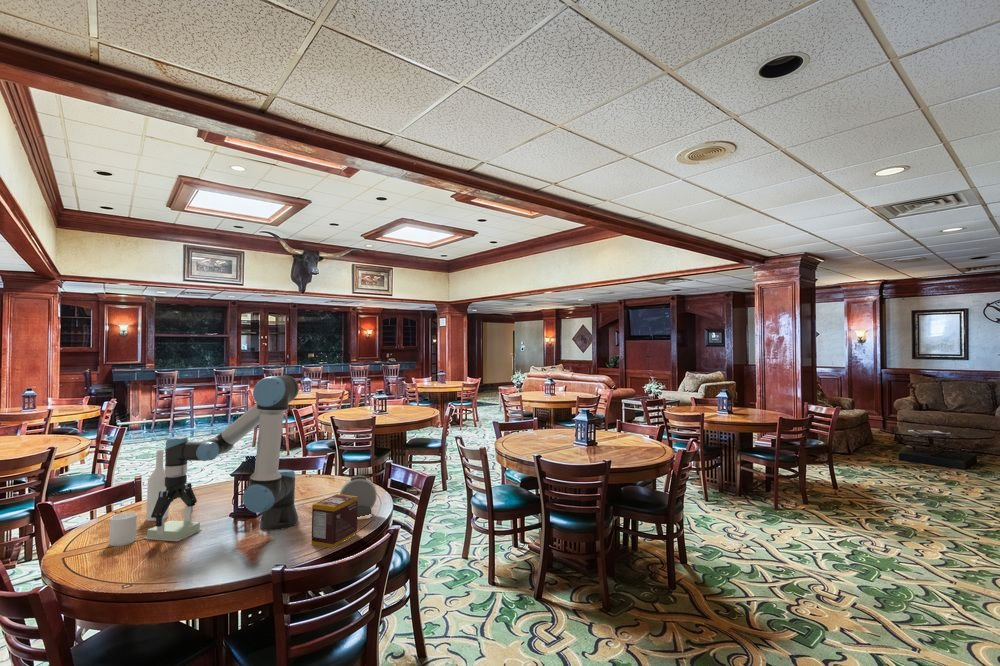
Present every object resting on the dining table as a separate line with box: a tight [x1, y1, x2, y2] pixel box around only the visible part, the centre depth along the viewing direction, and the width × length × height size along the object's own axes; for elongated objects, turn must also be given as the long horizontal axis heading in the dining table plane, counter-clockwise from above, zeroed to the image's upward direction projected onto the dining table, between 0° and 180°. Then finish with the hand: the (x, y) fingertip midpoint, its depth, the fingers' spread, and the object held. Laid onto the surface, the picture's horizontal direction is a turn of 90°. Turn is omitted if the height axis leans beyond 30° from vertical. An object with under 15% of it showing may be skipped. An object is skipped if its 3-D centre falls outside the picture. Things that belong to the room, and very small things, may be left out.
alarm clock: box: [339, 474, 378, 517], centre depth 218 cm, size 16×10×18 cm, turn 108°
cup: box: [108, 512, 138, 547], centre depth 188 cm, size 8×12×10 cm
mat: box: [144, 528, 202, 542], centre depth 194 cm, size 15×12×1 cm
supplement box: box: [311, 493, 358, 549], centre depth 191 cm, size 10×15×16 cm
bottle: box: [145, 449, 170, 522], centre depth 214 cm, size 8×8×30 cm
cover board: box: [146, 520, 201, 540], centre depth 195 cm, size 14×11×3 cm
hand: (174, 528), depth 195 cm, fingers open, 13 cm apart
